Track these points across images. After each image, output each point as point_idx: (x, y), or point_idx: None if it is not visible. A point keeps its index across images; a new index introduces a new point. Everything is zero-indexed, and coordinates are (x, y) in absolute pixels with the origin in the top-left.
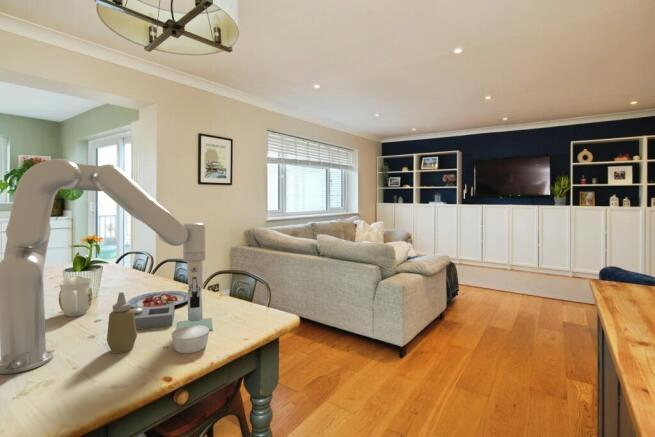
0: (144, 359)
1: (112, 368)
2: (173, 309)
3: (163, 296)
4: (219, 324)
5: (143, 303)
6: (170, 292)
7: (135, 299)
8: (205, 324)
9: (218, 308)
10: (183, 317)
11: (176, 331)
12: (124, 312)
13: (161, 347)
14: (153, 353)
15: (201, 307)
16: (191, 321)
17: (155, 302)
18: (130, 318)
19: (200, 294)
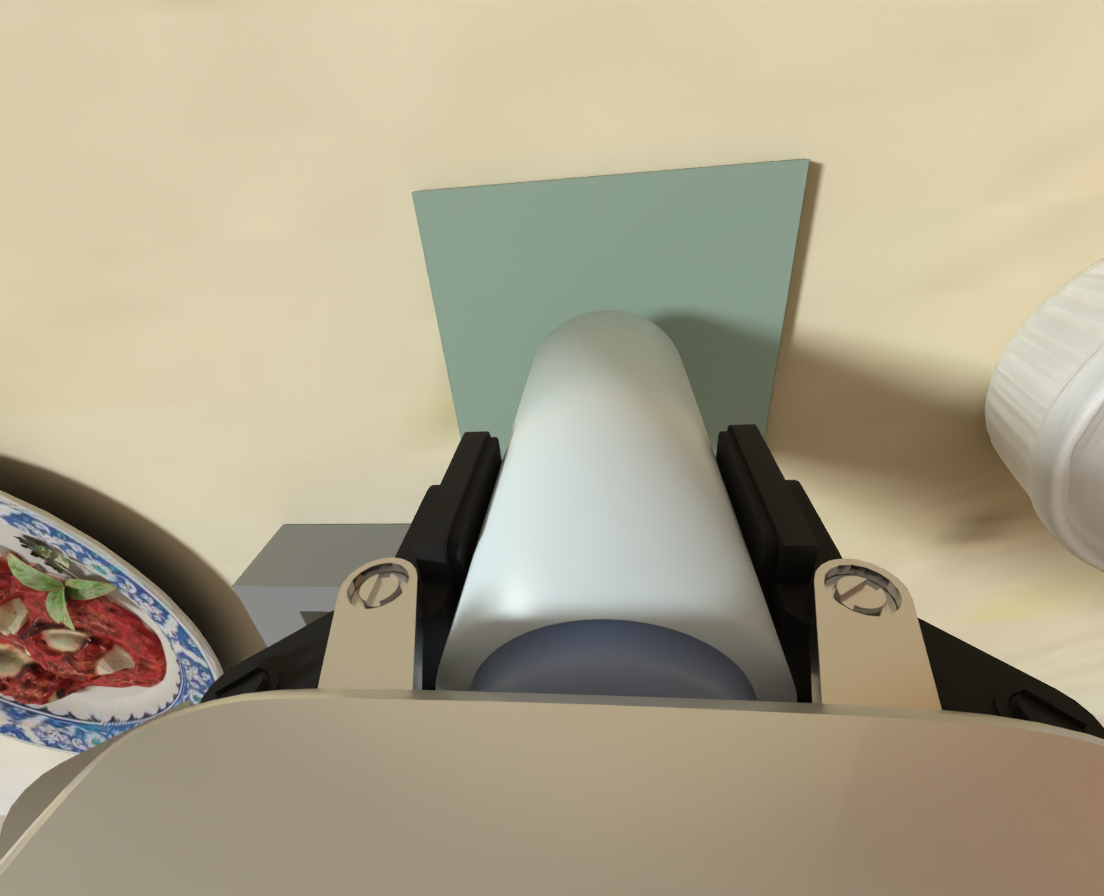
0: (1100, 613)
1: (1094, 710)
2: (342, 581)
3: None
4: (624, 69)
5: (89, 688)
6: None
7: (63, 735)
8: (619, 257)
9: (15, 111)
10: (346, 461)
11: (1100, 550)
12: None
13: (960, 551)
14: (1037, 582)
15: (658, 379)
16: (493, 398)
17: (92, 657)
18: None
19: (720, 541)
